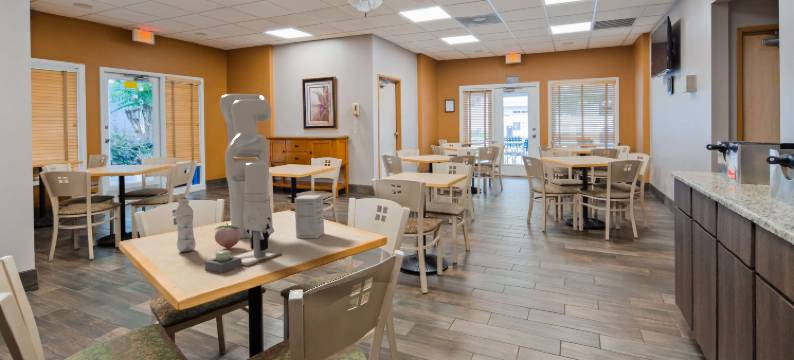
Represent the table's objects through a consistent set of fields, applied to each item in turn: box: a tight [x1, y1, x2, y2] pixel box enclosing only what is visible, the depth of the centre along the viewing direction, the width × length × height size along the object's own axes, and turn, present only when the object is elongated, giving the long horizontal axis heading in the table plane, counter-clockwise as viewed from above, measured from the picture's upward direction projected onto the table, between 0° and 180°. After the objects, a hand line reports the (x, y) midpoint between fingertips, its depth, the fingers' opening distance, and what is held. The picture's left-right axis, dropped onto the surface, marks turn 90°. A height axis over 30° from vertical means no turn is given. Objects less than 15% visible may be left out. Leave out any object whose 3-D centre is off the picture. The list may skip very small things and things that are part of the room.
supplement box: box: [294, 194, 325, 239], centre depth 192 cm, size 10×9×17 cm
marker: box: [253, 231, 267, 258], centre depth 160 cm, size 4×4×12 cm
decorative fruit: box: [214, 223, 241, 250], centre depth 174 cm, size 9×8×10 cm
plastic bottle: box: [174, 197, 197, 253], centre depth 170 cm, size 6×7×20 cm
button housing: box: [204, 255, 243, 275], centre depth 150 cm, size 8×8×3 cm
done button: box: [215, 249, 231, 262], centre depth 149 cm, size 4×4×2 cm
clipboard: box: [232, 249, 283, 268], centre depth 161 cm, size 14×16×1 cm
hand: (259, 248), depth 161 cm, fingers closed on marker, 3 cm apart
